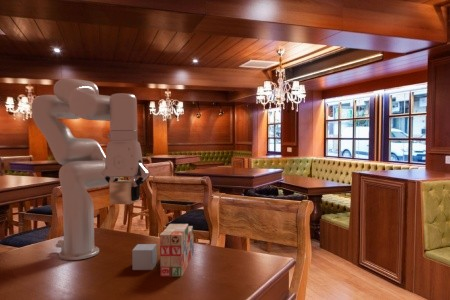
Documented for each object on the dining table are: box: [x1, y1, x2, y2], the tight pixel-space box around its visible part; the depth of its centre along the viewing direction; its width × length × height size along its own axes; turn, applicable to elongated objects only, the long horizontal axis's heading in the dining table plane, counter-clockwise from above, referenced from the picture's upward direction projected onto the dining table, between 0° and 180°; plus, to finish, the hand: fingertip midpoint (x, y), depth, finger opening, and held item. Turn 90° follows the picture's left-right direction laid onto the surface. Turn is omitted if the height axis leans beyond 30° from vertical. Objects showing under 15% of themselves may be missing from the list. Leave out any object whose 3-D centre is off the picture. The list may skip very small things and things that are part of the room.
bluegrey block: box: [131, 243, 158, 271], centre depth 106 cm, size 6×6×6 cm
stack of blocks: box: [159, 223, 194, 278], centre depth 108 cm, size 21×6×12 cm, turn 176°
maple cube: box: [108, 179, 141, 205], centre depth 99 cm, size 6×6×6 cm
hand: (125, 199), depth 100 cm, fingers closed on maple cube, 6 cm apart
